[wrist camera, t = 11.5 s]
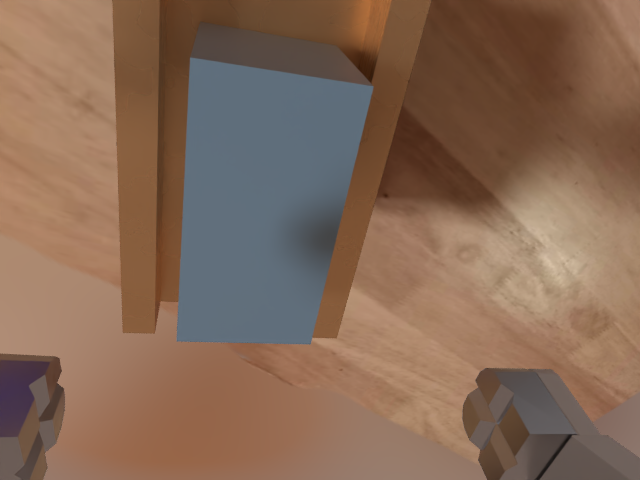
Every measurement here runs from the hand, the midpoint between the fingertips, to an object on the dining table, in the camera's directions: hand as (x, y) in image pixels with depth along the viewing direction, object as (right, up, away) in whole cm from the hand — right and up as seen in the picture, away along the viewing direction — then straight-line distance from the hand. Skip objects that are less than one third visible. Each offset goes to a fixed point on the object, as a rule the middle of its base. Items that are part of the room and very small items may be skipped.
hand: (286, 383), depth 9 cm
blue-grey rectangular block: (-2, +6, +9) cm, 11 cm away
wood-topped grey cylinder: (-4, +12, +19) cm, 23 cm away
